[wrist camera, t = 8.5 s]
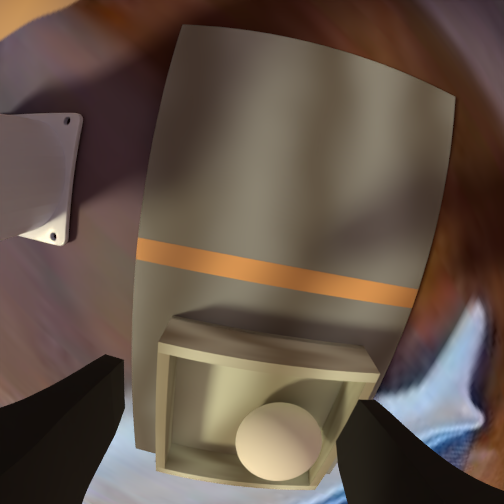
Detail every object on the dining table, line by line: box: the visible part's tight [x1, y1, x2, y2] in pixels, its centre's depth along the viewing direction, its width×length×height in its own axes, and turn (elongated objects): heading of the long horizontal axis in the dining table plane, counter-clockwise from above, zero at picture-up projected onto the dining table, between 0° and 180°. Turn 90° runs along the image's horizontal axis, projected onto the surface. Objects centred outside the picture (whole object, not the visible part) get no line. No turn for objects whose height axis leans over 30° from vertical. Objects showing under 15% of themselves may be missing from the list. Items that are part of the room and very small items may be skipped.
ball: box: [236, 402, 322, 481], centre depth 15 cm, size 5×5×5 cm
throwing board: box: [132, 25, 455, 490], centre depth 15 cm, size 16×29×4 cm, turn 169°
